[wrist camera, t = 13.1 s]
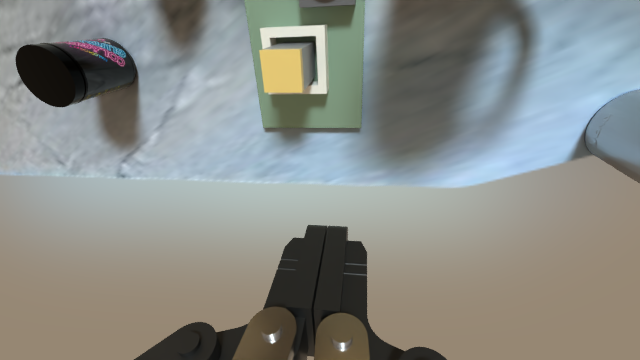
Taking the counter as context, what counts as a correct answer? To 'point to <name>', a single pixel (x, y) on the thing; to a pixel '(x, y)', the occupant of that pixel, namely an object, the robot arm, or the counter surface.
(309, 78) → the plug
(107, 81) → the supplement container
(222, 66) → the counter surface
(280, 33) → the header board
